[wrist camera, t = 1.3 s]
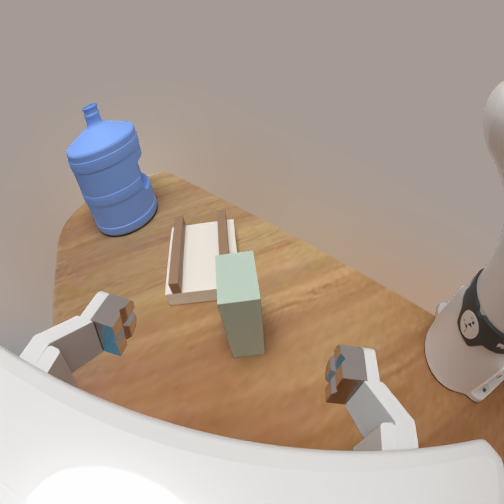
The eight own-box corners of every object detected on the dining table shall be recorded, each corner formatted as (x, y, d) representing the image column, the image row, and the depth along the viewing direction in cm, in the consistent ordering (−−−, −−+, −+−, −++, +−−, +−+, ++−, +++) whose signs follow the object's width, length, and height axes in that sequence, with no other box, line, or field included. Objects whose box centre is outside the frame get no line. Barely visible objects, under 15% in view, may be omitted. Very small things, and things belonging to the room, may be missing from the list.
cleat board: (234, 230, 59) (231, 208, 55) (242, 297, 48) (238, 275, 44) (175, 238, 59) (168, 217, 55) (170, 305, 48) (160, 285, 44)
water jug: (124, 246, 59) (75, 124, 38) (87, 226, 65) (43, 125, 44) (171, 203, 67) (142, 89, 47) (130, 190, 74) (99, 93, 53)
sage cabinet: (258, 309, 46) (252, 246, 36) (265, 353, 41) (260, 299, 31) (229, 312, 46) (215, 250, 36) (233, 357, 41) (217, 304, 31)
